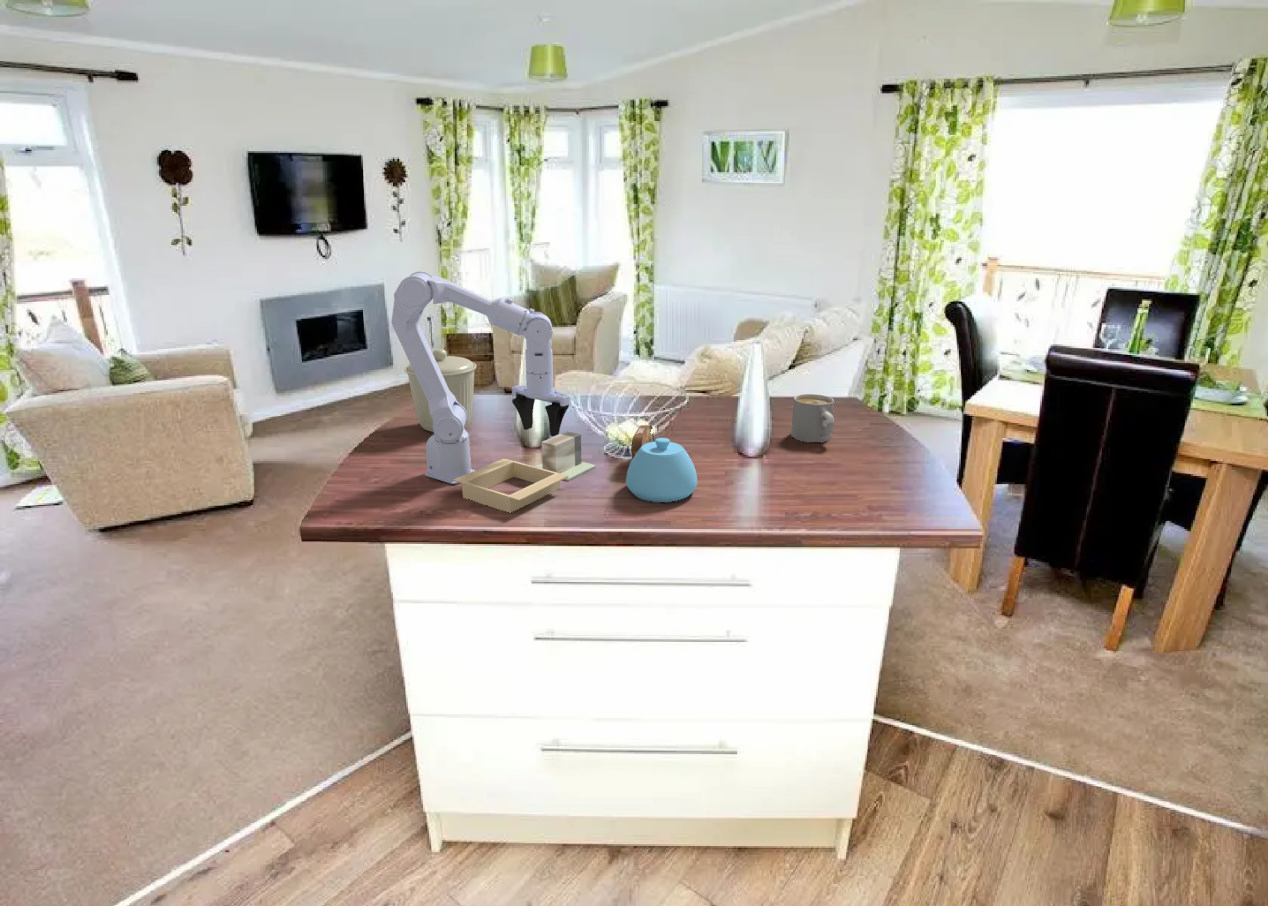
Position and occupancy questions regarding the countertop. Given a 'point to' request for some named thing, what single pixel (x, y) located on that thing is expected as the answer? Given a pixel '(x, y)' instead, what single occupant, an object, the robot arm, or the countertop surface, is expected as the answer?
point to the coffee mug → (812, 418)
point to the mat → (575, 470)
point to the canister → (457, 380)
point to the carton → (503, 470)
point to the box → (561, 452)
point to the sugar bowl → (661, 472)
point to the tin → (641, 438)
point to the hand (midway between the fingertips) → (541, 431)
